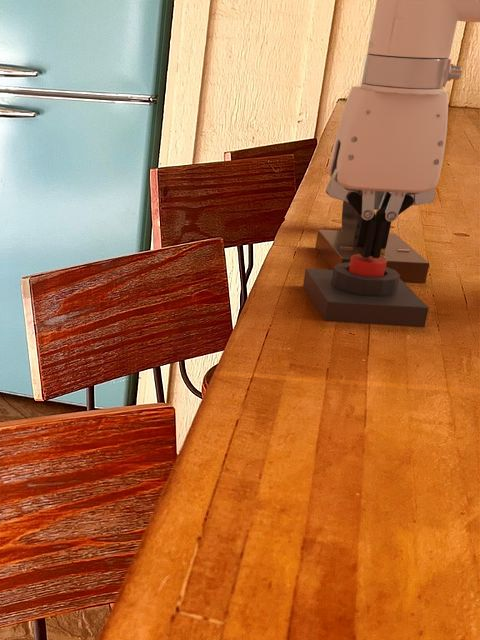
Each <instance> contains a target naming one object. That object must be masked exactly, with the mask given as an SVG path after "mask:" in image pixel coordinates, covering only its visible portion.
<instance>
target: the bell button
mask: <svg viewBox="0 0 480 640" xmlns="http://www.w3.org/2000/svg"><path fill="white" fill-rule="evenodd" d="M386 263H387V260H386V259H384V258H382V257H379V258H373V257H371V256H370V257H368V258H365V257H362V256H361V255H360V254H357V255H353V256H351V260H350V266H349V271H348V272H351V273H354V274H357V275H362V276H370V277H381V276H384V273H385V268H386Z"/></svg>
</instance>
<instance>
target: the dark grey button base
mask: <svg viewBox="0 0 480 640" xmlns="http://www.w3.org/2000/svg"><path fill="white" fill-rule="evenodd" d="M349 266H350V262H347V263H339V264H338V265H336V266H335V267H334V269H333V270H332V269H323V268H305V271H304V276H303V284H302V287H303V289H304V290H305V292H306V294H307V295H308V297H309V298H310V300H311V301H312V303H313V305H314V307H315V308H316V309H317V311H318V312H319V314H320V316H321V317H322V319H323V320H324V322H330V323H331V322H333V323H348V324H363V325H364V324H365V325H366V324H367V325H382V326H383V325H384V326H397V327H398V326H399V327H414V328H425V327H426V323H427V318H428V314H429V309H430V307H429V306H428V305H427V304H426V303H425V302H424V301H423V300H422V299H421V298H420V297H419V296H418V295H417V294H416V293H415V292H414V291H413V290H412V289H411V288H410V287H409V285H407V284H406V282H403V281H402V280H401V279H400V275H399V274H398V273H397V272H396V271H395V270H393V269H390V268H387V267H386V268H385V273H384V276H381V277H370V276H362V275H357V274H354V273H351V272H348V271H349Z"/></svg>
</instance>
